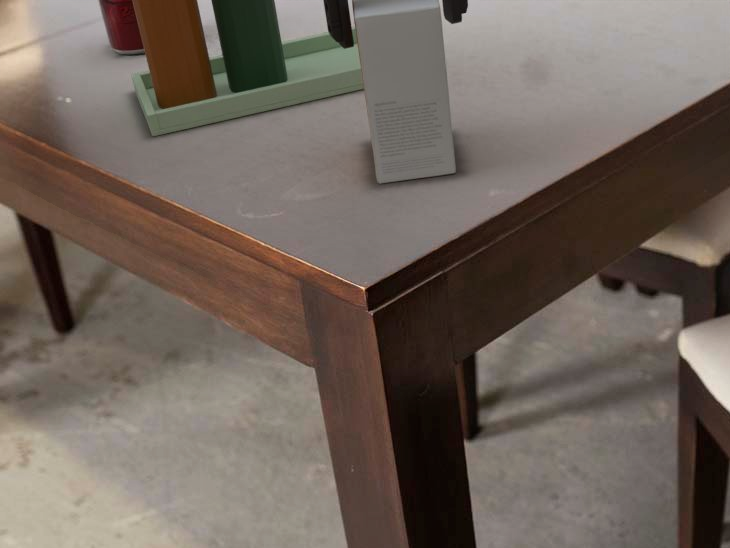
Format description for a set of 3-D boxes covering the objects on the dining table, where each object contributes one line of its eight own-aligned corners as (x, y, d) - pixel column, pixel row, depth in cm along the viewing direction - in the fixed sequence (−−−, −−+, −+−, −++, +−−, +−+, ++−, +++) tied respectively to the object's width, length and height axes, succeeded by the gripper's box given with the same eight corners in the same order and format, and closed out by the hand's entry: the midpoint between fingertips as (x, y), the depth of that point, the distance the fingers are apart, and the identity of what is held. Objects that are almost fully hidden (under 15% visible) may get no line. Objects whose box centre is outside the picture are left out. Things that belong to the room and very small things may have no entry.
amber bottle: (163, 120, 103) (122, -48, 94) (155, 101, 107) (116, -60, 98) (222, 107, 104) (187, -60, 95) (211, 89, 108) (177, -72, 100)
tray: (152, 136, 99) (147, 115, 98) (135, 93, 110) (131, 74, 108) (420, 76, 104) (418, 55, 103) (380, 40, 114) (378, 21, 113)
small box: (371, 144, 92) (349, -15, 85) (446, 134, 92) (432, -26, 84) (375, 185, 85) (353, 16, 78) (457, 174, 85) (442, 4, 78)
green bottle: (236, 104, 104) (203, -63, 95) (225, 86, 108) (193, -75, 100) (294, 91, 105) (266, -75, 96) (280, 73, 109) (253, -87, 101)
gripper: (452, -230, 78) (469, 1, 87) (257, -195, 76) (296, 40, 85) (492, -222, 72) (507, 26, 81) (282, -184, 69) (322, 68, 79)
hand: (399, 33), depth 83 cm, fingers open, 8 cm apart
